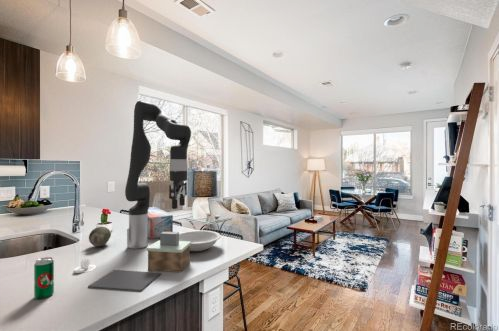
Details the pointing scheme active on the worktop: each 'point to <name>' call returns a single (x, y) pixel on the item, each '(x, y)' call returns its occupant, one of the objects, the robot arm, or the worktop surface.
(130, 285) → the rubber mat
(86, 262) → the teacup and saucer
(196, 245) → the white sink basin
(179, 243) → the lid
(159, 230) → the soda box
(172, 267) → the walnut box
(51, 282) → the soda can
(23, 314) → the worktop surface
